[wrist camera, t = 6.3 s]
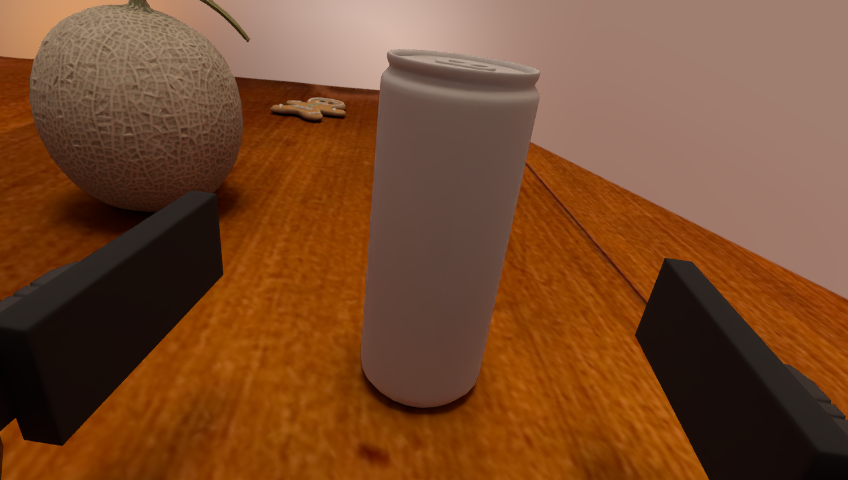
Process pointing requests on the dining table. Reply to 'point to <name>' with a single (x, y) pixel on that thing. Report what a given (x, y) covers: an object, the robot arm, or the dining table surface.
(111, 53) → the fruit
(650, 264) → the dining table surface
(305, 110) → the cookie
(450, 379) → the beverage can
